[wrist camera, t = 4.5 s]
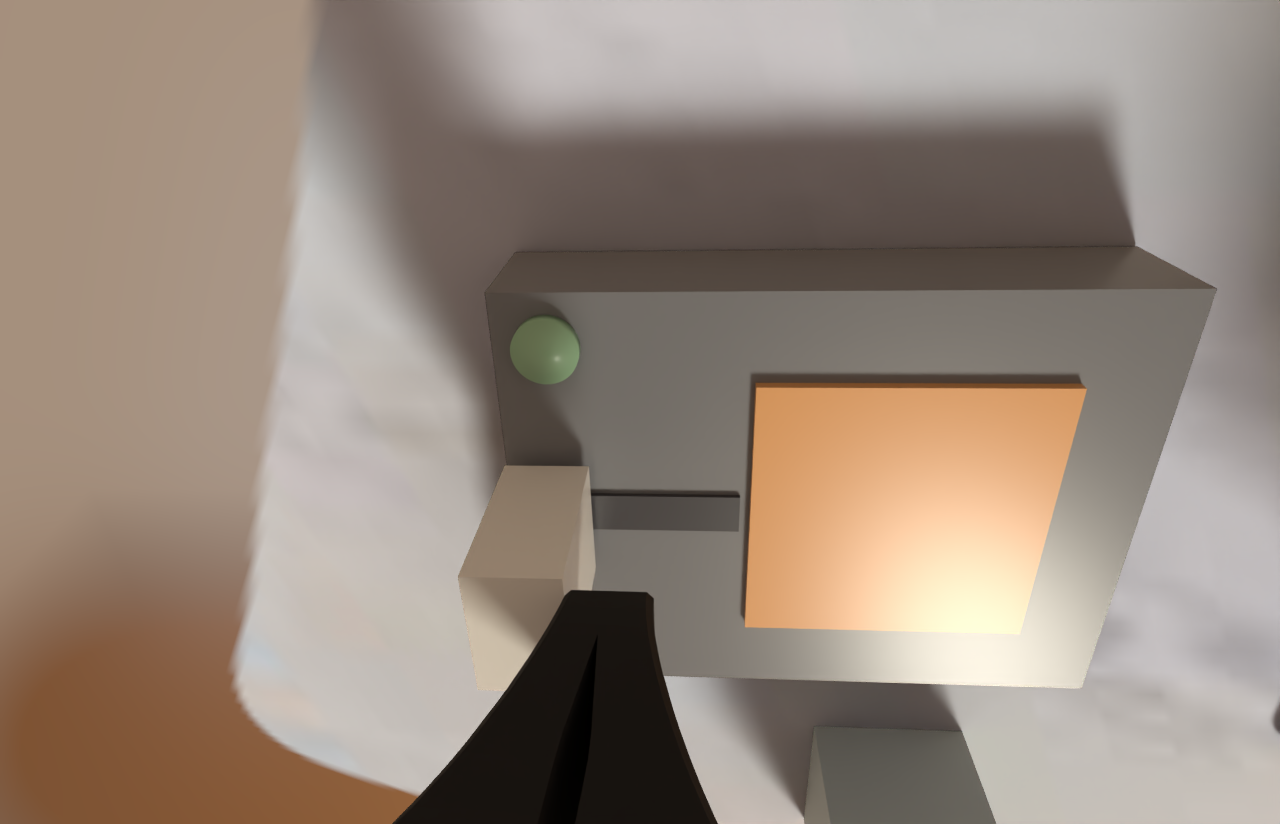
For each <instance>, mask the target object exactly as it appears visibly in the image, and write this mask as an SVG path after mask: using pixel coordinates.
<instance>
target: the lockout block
mask: <svg viewBox="0 0 1280 824" xmlns="http://www.w3.org/2000/svg"><path fill="white" fill-rule="evenodd" d="M804 823H805V824H996V822H995V819H994V816H993V814H992V811H991V808H990V806H989V803H988V800H987V798H986V795H985V792H984V789H983V787H982V784H981V781H980V779H979V776H978V773H977V771H976V768H975V765H974V763H973V760H972V757H971V755H970V752H969V749H968V746H967V744H966V741H965V738H964V736H963V733H962V731H939V730H910V729H880V728H850V727H820V726H814V732H813V741H812V750H811V759H810V768H809V776H808V785H807V794H806V803H805V812H804Z"/></svg>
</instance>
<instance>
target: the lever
mask: <svg viewBox="0 0 1280 824" xmlns="http://www.w3.org/2000/svg"><path fill="white" fill-rule="evenodd" d="M595 569H596V563H595V548H594V534H593V520H592V505H591V491H590V476H589V466H510V465H505V466H504V468H503V471H502V473H501V475H500V478H499V480H498V483H497V485H496V487H495V490H494V492H493V494H492V497H491V499H490V502H489V504H488V506H487V509H486V511H485V514H484V516H483V518H482V521H481V523H480V525H479V528H478V530H477V533H476V535H475V537H474V540H473V542H472V544H471V547H470V549H469V552H468V554H467V556H466V559H465V561H464V563H463V566H462V568H461V571H460V573H459V575H458V581H459V586H460V592H461V597H462V603H463V609H464V614H465V620H466V625H467V631H468V637H469V642H470V648H471V654H472V659H473V665H474V670H475V676H476V682H477V687H478V690H496V691H506V689H507V688H508V686H509V685H510V684H511V682H512V681H513V679H514V678H515V676H516V675H517V673H518V672H519V670H520V669H521V667H522V666H523V665H524V663H525V662H526V660H527V659H528V657H529V656H530V654H531V653H532V651H533V649H534V648H535V646H536V645H537V643H538V641H539V640H540V638H541V637H542V635H543V633H544V632H545V630H546V628H547V627H548V625H549V623H550V622H551V620H552V618H553V616H554V615H555V613H556V611H557V609H558V607H559V605H560V604H561V602H562V600H563V598H564V596H565V595H566V594H567V593H568V592H569V591H571V590H592V586H593V580H594V575H595Z"/></svg>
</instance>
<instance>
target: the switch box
mask: <svg viewBox="0 0 1280 824" xmlns="http://www.w3.org/2000/svg"><path fill="white" fill-rule="evenodd" d="M1216 291H1217V288H1215V287H1213V286H1211V285H1209V284H1207V283H1205V282H1203V281H1201V280H1200V279H1198V278H1196V277H1194V276H1192V275H1190V274H1188V273H1186V272H1184V271H1183V270H1181V269H1179V268H1177V267H1175V266H1173V265H1171V264H1169V263H1168V262H1166V261H1164V260H1162V259H1160V258H1158V257H1156V256H1154V255H1152V254H1151V253H1149V252H1147V251H1145V250H1143V249H1141V248H1139V247H1137V246H1130V247H1024V248H918V249H811V250H705V251H599V252H515V253H514V255H513V256H512V257H511V259H510V260H509V261H508V263H507V264H506V265H505V267H504V268H503V269H502V271H501V272H500V273H499V275H498V276H497V277H496V279H495V280H494V281H493V283H492V284H491V285H490V287H489V288H488V289H487V291H486V292H485V299H486V307H487V315H488V322H489V330H490V338H491V346H492V353H493V361H494V369H495V377H496V385H497V392H498V400H499V408H500V416H501V424H502V431H503V439H504V447H505V455H506V462H507V465H510V466H589V476H590V491H591V505H592V520H593V534H594V548H595V563H596V569H595V575H594V580H593V586H592V590H594V591H630V592H647V593H648V594H650V595H651V596H652V597H653V598H654V624H655V637H656V643H657V648H658V654H659V659H660V663H661V667H662V672H663V676H684V677H718V678H751V679H785V680H818V681H851V682H885V683H918V684H952V685H985V686H1019V687H1052V688H1082V685H1083V682H1084V679H1085V676H1086V673H1087V670H1088V667H1089V664H1090V661H1091V658H1092V655H1093V652H1094V650H1095V647H1096V644H1097V641H1098V638H1099V635H1100V632H1101V629H1102V626H1103V623H1104V620H1105V617H1106V614H1107V611H1108V608H1109V605H1110V602H1111V599H1112V597H1113V594H1114V591H1115V588H1116V585H1117V582H1118V579H1119V576H1120V573H1121V570H1122V567H1123V564H1124V561H1125V558H1126V555H1127V552H1128V549H1129V547H1130V544H1131V541H1132V538H1133V535H1134V532H1135V529H1136V526H1137V523H1138V520H1139V517H1140V514H1141V511H1142V508H1143V505H1144V502H1145V499H1146V496H1147V494H1148V491H1149V488H1150V485H1151V482H1152V479H1153V476H1154V473H1155V470H1156V467H1157V464H1158V461H1159V458H1160V455H1161V452H1162V449H1163V446H1164V444H1165V441H1166V438H1167V435H1168V432H1169V429H1170V426H1171V423H1172V420H1173V417H1174V414H1175V411H1176V408H1177V405H1178V402H1179V399H1180V396H1181V394H1182V391H1183V388H1184V385H1185V382H1186V379H1187V376H1188V373H1189V370H1190V367H1191V364H1192V361H1193V358H1194V355H1195V352H1196V349H1197V346H1198V343H1199V341H1200V338H1201V335H1202V332H1203V329H1204V326H1205V323H1206V320H1207V317H1208V314H1209V311H1210V308H1211V305H1212V302H1213V299H1214V296H1215V293H1216Z"/></svg>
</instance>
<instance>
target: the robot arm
mask: <svg viewBox="0 0 1280 824" xmlns="http://www.w3.org/2000/svg"><path fill="white" fill-rule="evenodd" d="M393 824H718V823H717V821H716V819H715V817H714V815H713V812H712V810H711V808H710V805H709V803H708V801H707V799H706V796H705V794H704V792H703V789H702V787H701V785H700V782H699V780H698V777H697V775H696V772H695V770H694V767H693V765H692V762H691V759H690V757H689V754H688V751H687V749H686V746H685V743H684V740H683V737H682V735H681V732H680V729H679V726H678V723H677V720H676V717H675V714H674V711H673V708H672V704H671V700H670V697H669V693H668V690H667V686H666V683H665V679H664V676H663V672H662V667H661V663H660V659H659V654H658V648H657V643H656V637H655V624H654V598H653V597H652V596H651V595H650V594H648V593H647V592H630V591H594V590H571V591H569V592H568V593H567V594H566V595H565V596H564V598H563V600H562V602H561V604H560V605H559V607H558V609H557V611H556V613H555V615H554V616H553V618H552V620H551V622H550V623H549V625H548V627H547V628H546V630H545V632H544V633H543V635H542V637H541V638H540V640H539V641H538V643H537V645H536V646H535V648H534V649H533V651H532V653H531V654H530V656H529V657H528V659H527V660H526V662H525V663H524V665H523V666H522V667H521V669H520V670H519V672H518V673H517V675H516V676H515V678H514V679H513V681H512V682H511V684H510V685H509V686H508V688H507V689H506V691H505V692H504V694H503V695H502V696H501V698H500V699H499V700H498V702H497V703H496V704H495V706H494V707H493V708H492V710H491V711H490V712H489V713H488V715H487V716H486V717H485V719H484V720H483V721H482V723H481V724H480V725H479V726H478V728H477V729H476V730H475V732H474V733H473V734H472V736H471V737H470V738H469V739H468V741H467V742H466V743H465V744H464V746H463V747H462V748H461V749H460V750H459V752H458V753H457V754H456V755H455V756H454V758H453V759H452V760H451V761H450V762H449V763H448V765H447V766H446V767H445V768H444V769H443V770H442V771H441V773H440V774H439V775H438V776H437V777H436V778H435V779H434V780H433V781H432V783H431V784H430V785H429V786H428V787H427V788H426V789H425V790H424V791H423V792H422V794H421V795H420V796H419V797H418V798H417V799H416V800H415V801H414V802H413V803H412V804H411V805H410V806H409V807H408V808H407V809H406V810H405V811H404V812H403V813H402V814H401V815H400V816H399V818H397V819H396V821H394V822H393Z"/></svg>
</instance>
